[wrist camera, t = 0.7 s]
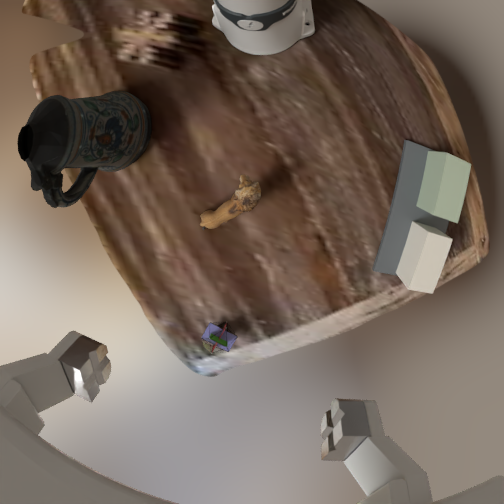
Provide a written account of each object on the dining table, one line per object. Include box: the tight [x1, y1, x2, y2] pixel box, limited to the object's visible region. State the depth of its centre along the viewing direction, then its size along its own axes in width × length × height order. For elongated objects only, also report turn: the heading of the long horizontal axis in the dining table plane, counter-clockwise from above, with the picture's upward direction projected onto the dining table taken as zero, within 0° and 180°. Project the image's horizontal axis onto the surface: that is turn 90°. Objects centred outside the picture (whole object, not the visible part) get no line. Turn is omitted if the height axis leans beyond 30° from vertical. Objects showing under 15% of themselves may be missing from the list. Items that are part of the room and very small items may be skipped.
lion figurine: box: [200, 175, 261, 230], centre depth 46 cm, size 15×5×9 cm, turn 131°
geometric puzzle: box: [201, 322, 237, 353], centre depth 58 cm, size 7×7×8 cm
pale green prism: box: [417, 151, 471, 223], centre depth 39 cm, size 11×6×7 cm, turn 171°
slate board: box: [373, 140, 449, 276], centre depth 45 cm, size 26×14×1 cm, turn 171°
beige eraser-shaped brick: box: [396, 221, 453, 293], centre depth 44 cm, size 11×6×7 cm, turn 171°
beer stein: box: [18, 91, 152, 208], centre depth 36 cm, size 16×19×25 cm
